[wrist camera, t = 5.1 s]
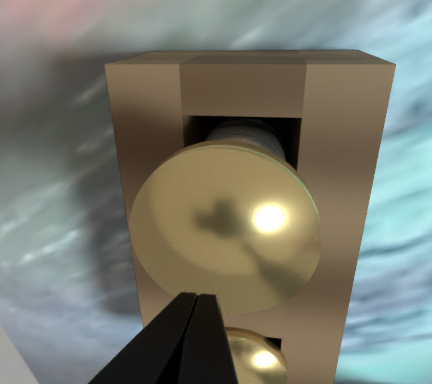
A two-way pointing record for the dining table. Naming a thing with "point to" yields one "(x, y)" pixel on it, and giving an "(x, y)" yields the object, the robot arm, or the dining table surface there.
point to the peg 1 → (229, 220)
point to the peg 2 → (256, 357)
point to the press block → (299, 159)
